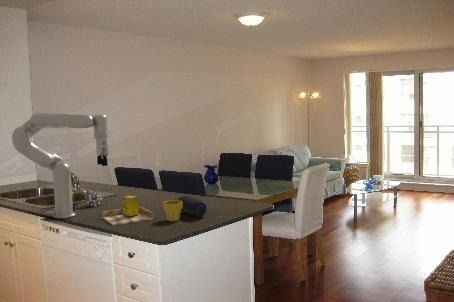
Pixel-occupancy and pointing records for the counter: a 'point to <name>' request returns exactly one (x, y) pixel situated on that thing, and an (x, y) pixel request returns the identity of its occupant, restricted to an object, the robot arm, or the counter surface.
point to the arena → (117, 217)
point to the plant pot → (172, 209)
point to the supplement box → (130, 206)
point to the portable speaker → (192, 206)
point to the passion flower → (93, 199)
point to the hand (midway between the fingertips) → (102, 165)
